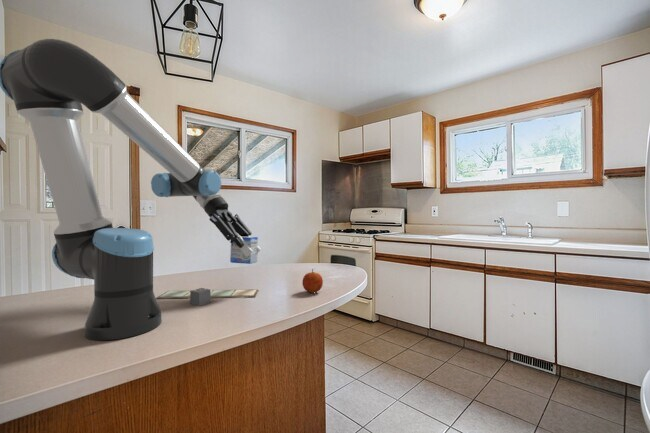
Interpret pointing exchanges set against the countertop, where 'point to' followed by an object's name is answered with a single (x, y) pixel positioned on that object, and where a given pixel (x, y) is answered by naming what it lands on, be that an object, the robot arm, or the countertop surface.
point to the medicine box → (239, 256)
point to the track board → (213, 294)
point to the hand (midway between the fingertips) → (253, 252)
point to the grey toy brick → (200, 296)
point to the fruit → (312, 282)
